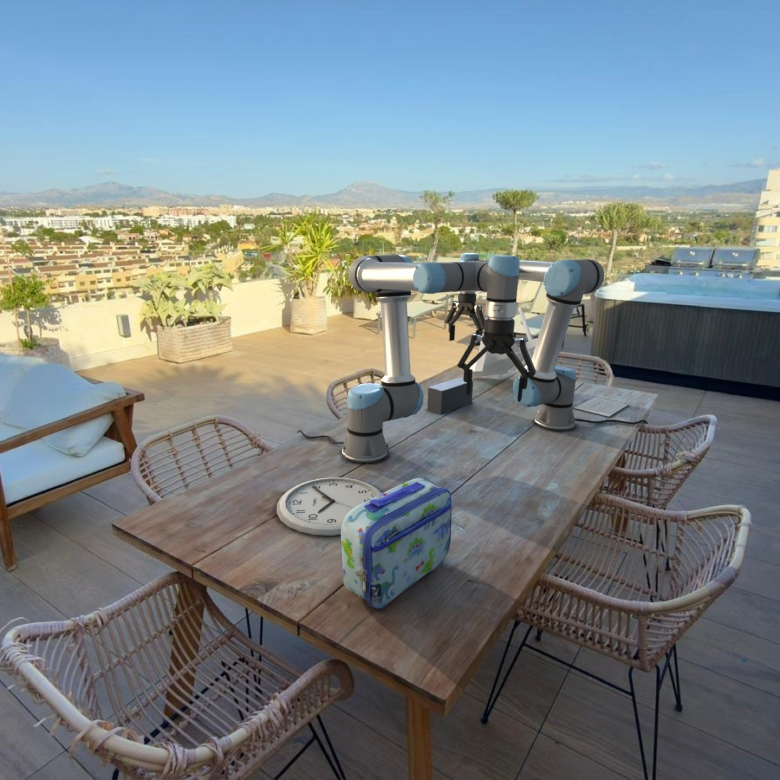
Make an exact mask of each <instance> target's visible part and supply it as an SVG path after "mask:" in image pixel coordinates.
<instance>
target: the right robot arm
mask: <svg viewBox="0 0 780 780" xmlns="http://www.w3.org/2000/svg"><path fill="white" fill-rule="evenodd" d="M466 260H473V261H478V262H487V263H489V259H480V255H479V254H478V253H462V254H461V255H460V259H459V262H460V261H466ZM519 273H520V275H519V280H520V281H529V282H537V283H538V282H540V283H543V286H544V291H545V292H546V294H545V298H546V300H547V301H548V303H547V306H546V310H545V313H544V317H543V320H542V324H541V327H540V330H539V333H538V337H537V339H538V340H537V343H536V347H535V350H534V353H533V354H532V362H533V365H534V367H535V370H536V373H535V375H534V376H529V377H528V383H527V387H526V389H523V391H522V399H521V401H520V402H518V404H520V405H521V406H523V407H526V408H532V407H534V408H536V407H538V406H539V407H538V409H537V410H536V413H535V416H534V424H535V425H536V426H537V427H539V428H542V429H544V430H549V431H556V432H567V431H572V430H574V429H575V428H576V422H582V423H588V424H596V425H597V424H605V423H619V424H625V425H638V424H642V423H644V424H645V425H649V422H648V421H647V420H646V419H640V420H637V421H626V420H621V419H602V420H589V419H585V418H584V419H582V418H577V417H576V416H575V413H574V407H573V405H574V398H575V390H576V383H577V372H576V371H575V369H572V368H571V367H570V368H569V367H566V366H561V365H557V363H558V359H559V356H560V354H561V351H562V347H563V344H564V340H565V338H566V335H567V331H568V328H569V325H570V322H571V319H572V316H573V313H574V310H575V308H577V307H578V306H580V305H581V303H582V301H583V298H584V295H590V294H593V293H595V292H597V291H598V290H599V289H600V288H601V286H602V285H603V283H604V281H605V277H606V275H605V270H604V267H603V266H602V264H601V263H600V262H598V261H597V260H594V259H591V258H583V259H570V258H567V259H561V260H558V261H555V262H554V261H541V260H540V261H538V260H524V259H523V260H521V259H519ZM477 295H478V294H477V291H458V293H457V301H455V302H452V303H451V308H450V309H449V312H448V314H447V316H446V318H445V320H444V323H445V324H447V325H448V331H447V332H448V334H449V335H448V336H449V337H448V341H449V342H452V341H455V337H456V323H457V321H458V320H459V319H460V317H461V316H468V317H469V318H470V319H471V320H472V322H473V324H474V326H475V328H476V329H475V333H476V334H478V335H480V336H482V334H484V326H485V319H486V318H485V316H484V313H483V306H482V305H477V304H476V302H477ZM457 309H458V310H457ZM480 342H481V340H480V341H479V342H478V343H476V345H475V347H478V346H479V347H480ZM524 367H525V368H526V370H527V371H529V370H528V368H527V366H526V365H525V366H524ZM519 378H520V376H518V377H517V378H516V379H515V380H514V381H513V384H512V393H513V396H514V397H515V399H516V400H517V399H518V388H519ZM575 417H576V418H575Z"/></svg>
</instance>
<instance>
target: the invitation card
mask: <svg viewBox="0 0 780 780" xmlns="http://www.w3.org/2000/svg"><path fill="white" fill-rule="evenodd" d="M628 406H629V404H627V403H623V402H618V401H614V400H609V399H605V398H601V397H596V396H593V397H592V398H590V399H588V400H586V401H584V402H582V403H580V404H578V405H575V406H574V407H573V409H575V410H581V411H584V412H587V413H593V414H596V415H600V416H604V417H608V418H609V417H611V416H613V415H614V414H616V413H617V412H619V411H621V410H623V409H624V408H626V407H628Z"/></svg>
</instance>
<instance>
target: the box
mask: <svg viewBox="0 0 780 780" xmlns="http://www.w3.org/2000/svg"><path fill="white" fill-rule="evenodd" d="M463 378H464V377H457V378H454V379H450V380H448V381H444V382H441V383H437V384H434V385H431V386H428V387H427V407H426V409H427V411H429V412H432V413H435V414H439V415H442V414H445V413H448V412H451V411H453V410H456V409H458V408H461V407H464V406H467V405H470V404H472V403H473V393H474V392H473V391H474V380H472V388H471V393H470V394H469V395H466V390H467V382H464V380H463Z"/></svg>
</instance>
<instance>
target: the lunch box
mask: <svg viewBox="0 0 780 780" xmlns="http://www.w3.org/2000/svg"><path fill="white" fill-rule="evenodd" d="M451 539H452V494H451V491H450V490H449V488H446V487H439V486H437V485H435V484H434V483H432V482H430V481H428V480H426V479H424V478H421V477H416V478H413V479H410V480H408V481H405V482H403V483H402V484H398V485H397V486H395V487H392V488H390V489H389V490H386V491H384V492H382V494H380V495H378V496H376V497H374V498H372V499H370V500H368V501H366V502H364V503H362V504H360V505H358V506H356V507H354V508H353V509H351V510H350V511H349V512H348V514H347V515H346V517H345V518H344V520H343V523H342V528H341V535H340V546H341V569H342V570H341V571H342V582H343V585H344V588H345V589H346V590H347V591H349V592H351V593H353V594H355V595H356V596H358V597H359V598H361V599H362V600H364V601H365V602H366V603H367V605H368V606H370V607H372V608H374V609H378V610H379V609H380V610H381V609H383V608H384V607H387V605H389V604H390V603H391V602H392V601H393V600H395V599H396V598H397V597H399V596H400V595H402V594H403V593H404V592H405V591H407V590H408V589H409V588H411V587H412V586H413V585H415V584H416V583H418V581H419V580H420V579H421V578H423V577H425V576H427V575H428V574H429V573H431V572H432V571H434V570H435V569H437V568H438V567H439V566H441V564H442V563H443V562H444V561H445V559H446V557H447V556H448V554H449V550H450V547H451V541H452V540H451Z"/></svg>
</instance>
